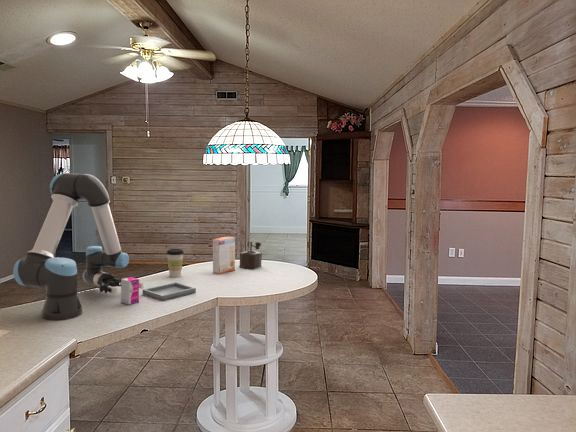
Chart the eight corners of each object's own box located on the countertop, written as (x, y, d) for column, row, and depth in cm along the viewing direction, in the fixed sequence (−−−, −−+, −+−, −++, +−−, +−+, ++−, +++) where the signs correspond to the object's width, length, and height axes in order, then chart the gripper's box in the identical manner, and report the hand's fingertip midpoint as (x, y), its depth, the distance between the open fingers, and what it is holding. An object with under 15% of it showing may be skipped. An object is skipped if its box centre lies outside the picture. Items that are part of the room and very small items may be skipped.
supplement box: (129, 305, 206) (129, 281, 205) (120, 303, 209) (120, 279, 208) (139, 302, 211) (139, 278, 210) (130, 300, 214) (130, 276, 213)
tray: (162, 301, 214) (162, 295, 214) (142, 294, 224) (142, 289, 224) (195, 292, 230) (195, 287, 230) (175, 286, 240) (175, 282, 240)
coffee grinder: (238, 267, 290) (238, 239, 288) (248, 264, 300) (249, 237, 298) (258, 271, 282) (258, 242, 280) (268, 267, 291) (269, 240, 290)
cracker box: (228, 269, 285) (228, 235, 283) (235, 270, 281) (235, 237, 279) (211, 272, 274) (212, 238, 271) (219, 274, 270) (219, 239, 268)
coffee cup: (179, 278, 258) (179, 252, 257) (163, 277, 260) (163, 251, 259) (186, 274, 268) (186, 249, 266) (171, 273, 270) (171, 248, 268)
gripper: (127, 283, 234) (152, 291, 221) (80, 293, 215) (104, 302, 202) (127, 269, 233) (152, 276, 220) (80, 277, 214) (104, 285, 201)
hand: (129, 288), depth 211 cm, fingers open, 13 cm apart
